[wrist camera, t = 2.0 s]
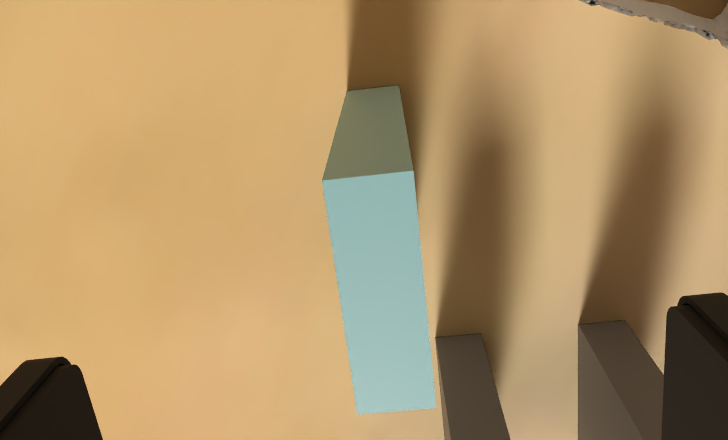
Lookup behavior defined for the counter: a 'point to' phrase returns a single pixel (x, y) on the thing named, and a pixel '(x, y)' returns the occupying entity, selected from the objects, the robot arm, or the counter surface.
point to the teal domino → (379, 254)
